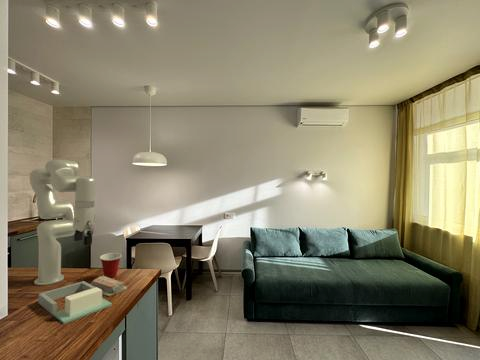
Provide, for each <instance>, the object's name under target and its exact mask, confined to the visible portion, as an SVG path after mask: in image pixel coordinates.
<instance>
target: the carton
mask: <svg viewBox="0 0 480 360" xmlns="http://www.w3.org/2000/svg"><path fill="white" fill-rule="evenodd" d="M102 298H103V294H102V290H101V289H99V288H97V287H96V288H92V289H89V290H86V291H83V292H82V291H80V292H77V293H74V294H71V295H67V296H64V310H65V313H67V314H68V315H69V316H72V315H74V314H77V313H80V312H83V311H85V310H88V309H91V308H93V307H96V306H99V305H101V304H102Z"/></svg>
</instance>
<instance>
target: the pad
mask: <svg viewBox="0 0 480 360" xmlns="http://www.w3.org/2000/svg"><path fill="white" fill-rule="evenodd" d="M112 305H113V303H112V302H110V301H108V300H107V299H105V298H103V297H102V304H101V305H99V306H96V307H93V308H91V309H88V310H85V311H83V312H80V313H77V314H74V315H72V316H69V315H68V314H67V313H65V309H62V310H60V311H59V310H58V311H57V312H56V313H53V317H54V318H56V319H57V320H59V322H61V323H62V324H63V325H64V324H65V325H66V324H68V323H70V322H73V321H75V320H78V319H81V318H83V317H85V316H88V315H91V314H94V313H96V312H98V311H101V310H103V309H106V308H109V307H110V306H112ZM90 313H91V314H90Z"/></svg>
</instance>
